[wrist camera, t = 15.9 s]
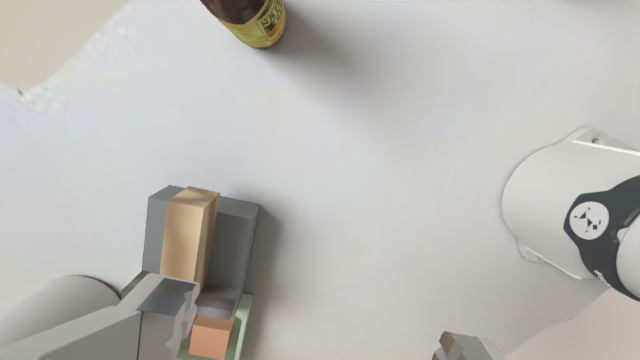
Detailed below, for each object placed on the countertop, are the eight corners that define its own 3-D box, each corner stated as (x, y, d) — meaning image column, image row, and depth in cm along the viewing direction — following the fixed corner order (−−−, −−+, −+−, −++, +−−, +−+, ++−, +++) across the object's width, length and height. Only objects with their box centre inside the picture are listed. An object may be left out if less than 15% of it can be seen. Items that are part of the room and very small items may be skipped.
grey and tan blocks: (256, 200, 34) (246, 217, 29) (238, 297, 37) (226, 326, 32) (151, 177, 33) (122, 191, 28) (141, 278, 36) (114, 306, 32)
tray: (253, 295, 43) (248, 309, 40) (241, 355, 46) (235, 372, 43) (148, 275, 42) (136, 288, 39) (142, 337, 45) (130, 354, 42)
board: (260, 204, 39) (252, 219, 34) (243, 293, 43) (233, 317, 38) (169, 185, 38) (148, 197, 34) (159, 277, 42) (139, 300, 37)
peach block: (224, 360, 42) (230, 343, 44) (229, 331, 40) (235, 316, 43) (188, 353, 41) (196, 337, 44) (193, 324, 40) (201, 309, 43)
